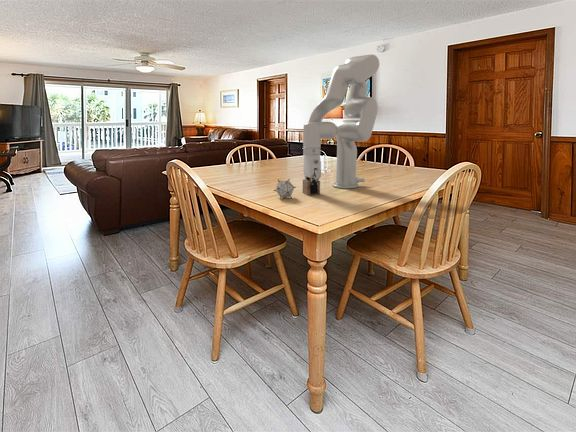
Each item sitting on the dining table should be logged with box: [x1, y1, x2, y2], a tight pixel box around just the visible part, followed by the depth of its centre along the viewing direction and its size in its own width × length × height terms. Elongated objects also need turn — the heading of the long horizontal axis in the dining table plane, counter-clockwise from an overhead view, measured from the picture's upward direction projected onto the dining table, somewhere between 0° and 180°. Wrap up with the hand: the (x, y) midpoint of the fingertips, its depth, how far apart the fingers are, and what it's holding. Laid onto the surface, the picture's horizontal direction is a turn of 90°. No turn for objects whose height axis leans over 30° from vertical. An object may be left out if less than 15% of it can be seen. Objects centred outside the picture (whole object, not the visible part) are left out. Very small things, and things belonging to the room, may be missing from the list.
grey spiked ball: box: [273, 178, 297, 200], centre depth 152 cm, size 9×8×10 cm
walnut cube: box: [302, 178, 321, 196], centre depth 161 cm, size 6×6×6 cm
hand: (311, 191), depth 162 cm, fingers closed on walnut cube, 6 cm apart
